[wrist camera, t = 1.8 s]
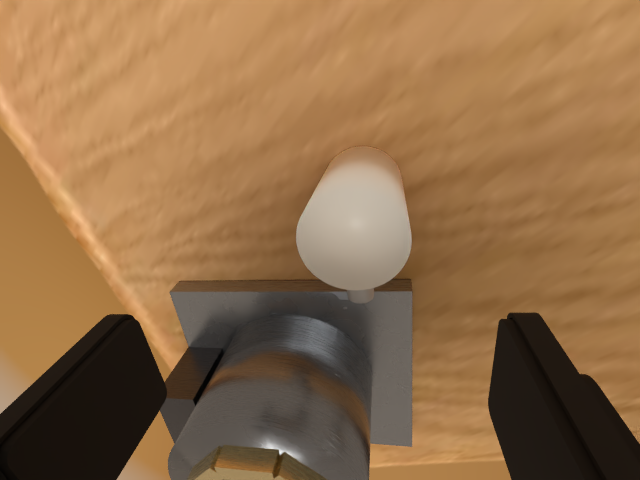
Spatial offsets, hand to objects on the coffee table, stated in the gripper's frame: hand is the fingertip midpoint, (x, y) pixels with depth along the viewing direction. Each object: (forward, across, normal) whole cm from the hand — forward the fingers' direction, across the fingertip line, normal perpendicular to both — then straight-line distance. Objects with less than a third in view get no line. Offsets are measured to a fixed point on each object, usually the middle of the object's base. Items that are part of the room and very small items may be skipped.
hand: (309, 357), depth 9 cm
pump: (+15, -1, 0) cm, 15 cm away
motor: (+15, +5, +15) cm, 22 cm away
